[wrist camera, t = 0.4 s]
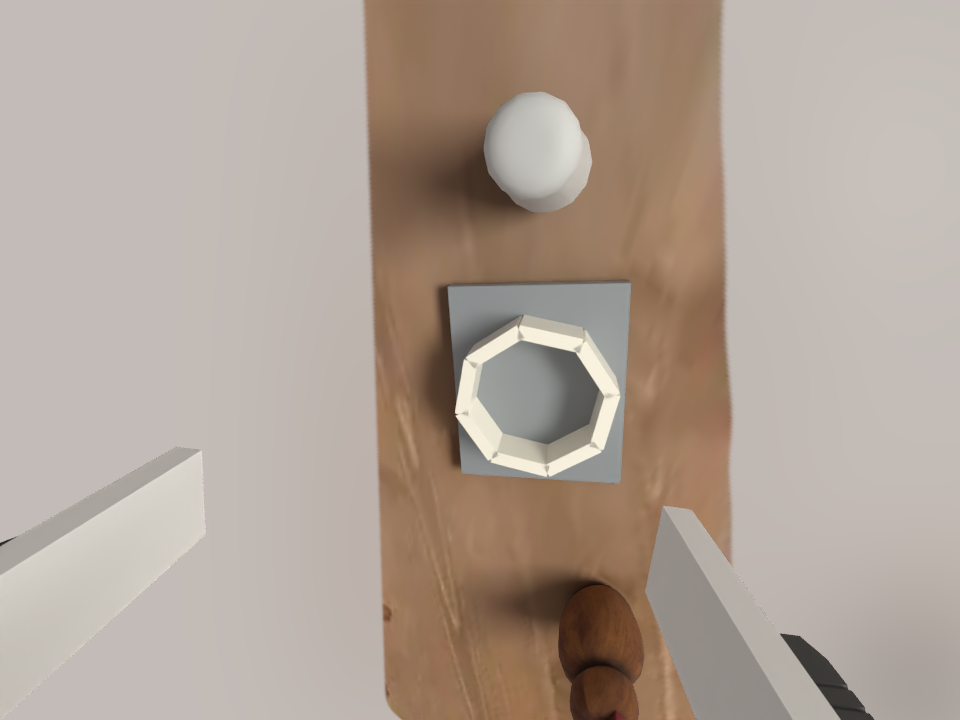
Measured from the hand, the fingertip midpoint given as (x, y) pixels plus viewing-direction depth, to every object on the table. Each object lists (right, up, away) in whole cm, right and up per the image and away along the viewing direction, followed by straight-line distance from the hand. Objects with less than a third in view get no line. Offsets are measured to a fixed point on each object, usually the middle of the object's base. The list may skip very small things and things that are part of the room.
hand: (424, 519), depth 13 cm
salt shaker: (+6, +18, +18) cm, 26 cm away
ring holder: (+6, +2, +22) cm, 23 cm away
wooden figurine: (+12, -18, +29) cm, 36 cm away
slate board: (+6, +3, +23) cm, 24 cm away
